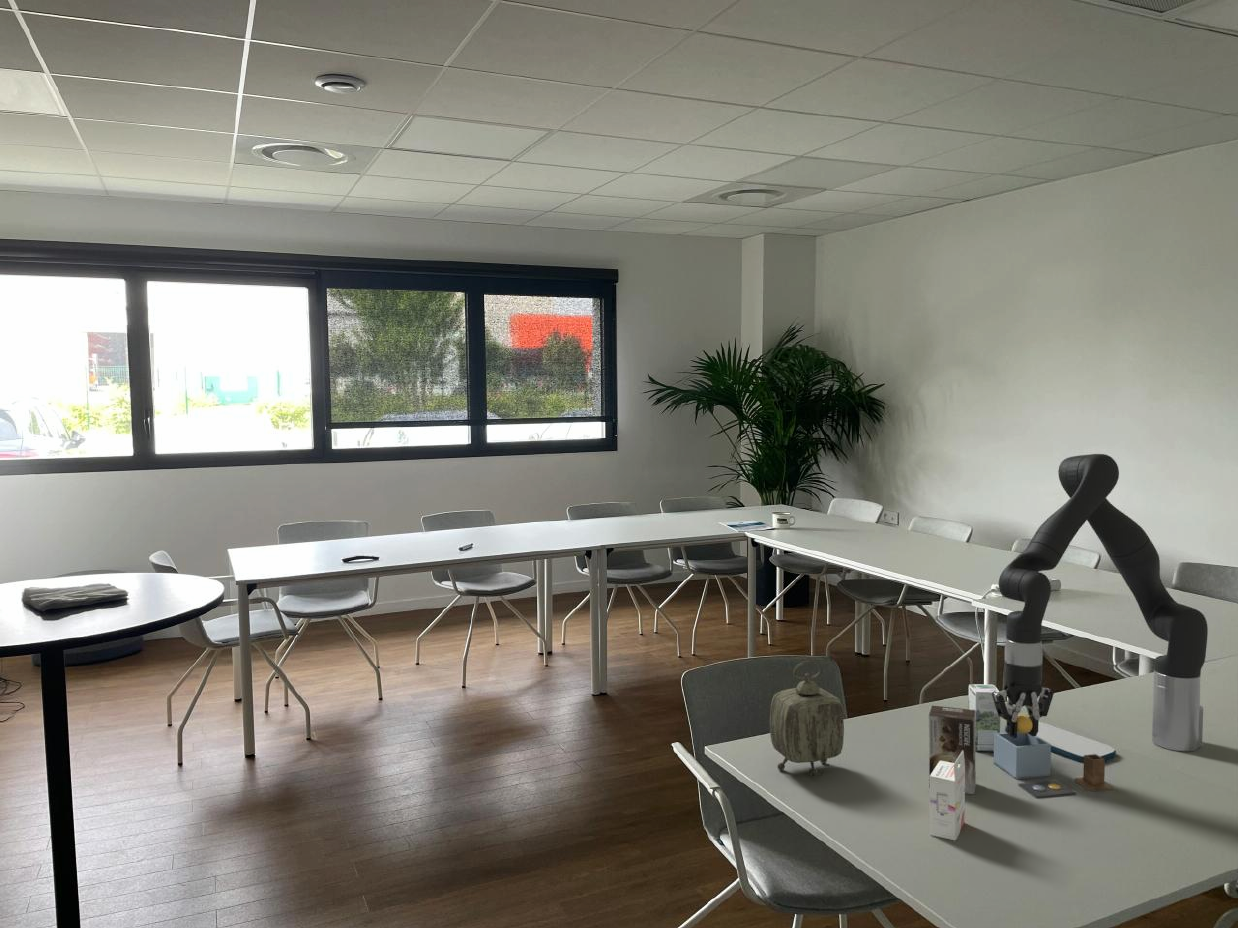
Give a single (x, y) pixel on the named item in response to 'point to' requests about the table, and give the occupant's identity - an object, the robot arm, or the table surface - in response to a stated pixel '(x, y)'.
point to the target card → (1046, 788)
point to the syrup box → (984, 715)
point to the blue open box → (1022, 755)
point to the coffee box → (953, 740)
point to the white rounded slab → (1072, 744)
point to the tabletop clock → (806, 722)
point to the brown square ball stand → (1094, 773)
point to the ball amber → (1024, 724)
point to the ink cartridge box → (947, 798)
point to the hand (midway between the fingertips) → (1022, 735)
